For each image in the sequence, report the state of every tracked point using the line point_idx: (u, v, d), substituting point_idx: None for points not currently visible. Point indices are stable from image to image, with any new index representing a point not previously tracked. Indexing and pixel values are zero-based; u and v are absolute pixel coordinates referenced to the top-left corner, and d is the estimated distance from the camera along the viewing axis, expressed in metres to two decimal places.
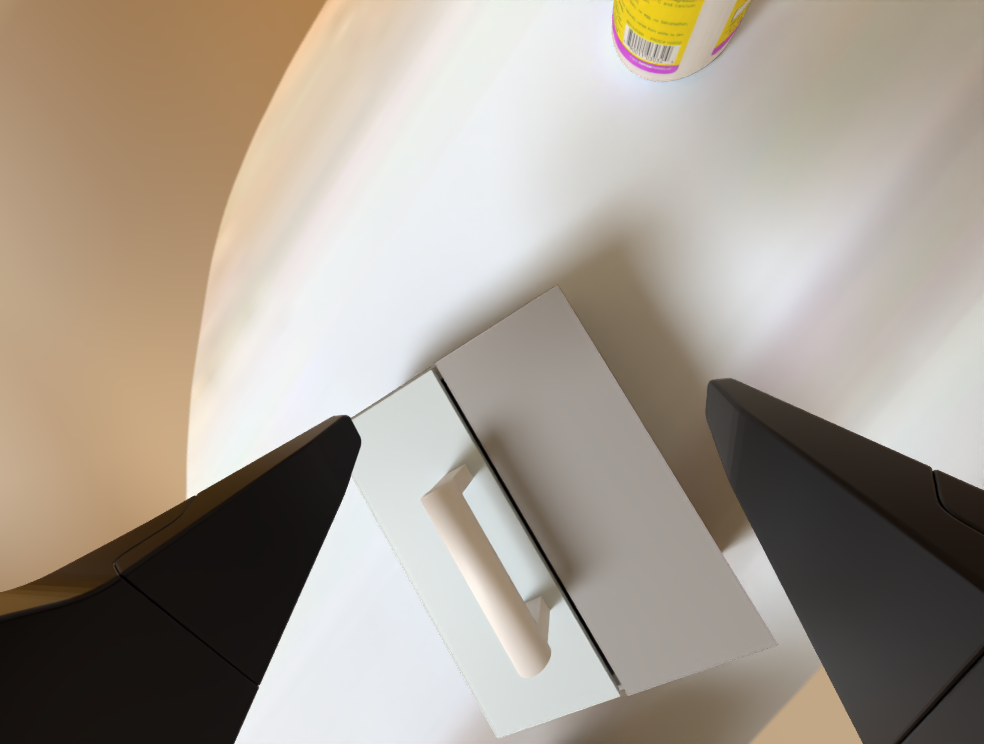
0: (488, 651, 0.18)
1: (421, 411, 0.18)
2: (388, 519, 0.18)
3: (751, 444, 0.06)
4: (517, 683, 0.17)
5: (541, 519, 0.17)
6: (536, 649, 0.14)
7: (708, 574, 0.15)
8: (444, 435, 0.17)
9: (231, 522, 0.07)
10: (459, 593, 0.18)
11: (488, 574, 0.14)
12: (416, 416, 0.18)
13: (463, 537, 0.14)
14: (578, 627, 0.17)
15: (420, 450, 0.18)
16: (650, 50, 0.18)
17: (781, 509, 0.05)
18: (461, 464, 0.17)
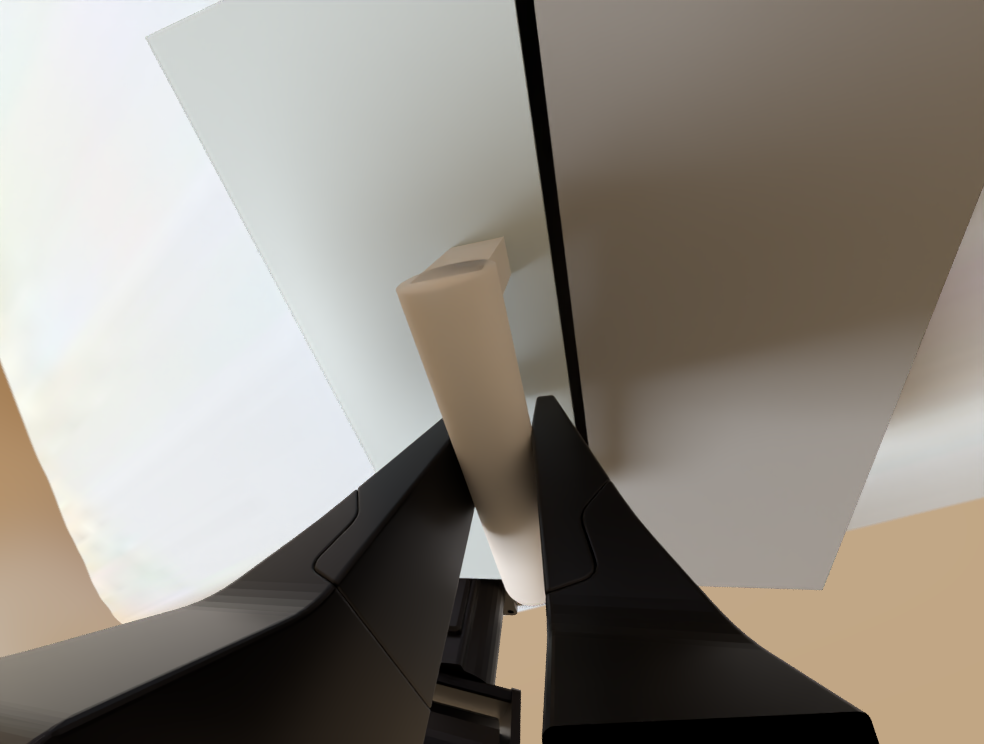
0: None
1: (428, 45, 0.06)
2: (309, 303, 0.09)
3: None
4: (474, 545, 0.13)
5: (609, 384, 0.09)
6: None
7: (813, 515, 0.10)
8: (473, 146, 0.07)
9: (404, 520, 0.06)
10: None
11: (516, 479, 0.07)
12: (409, 56, 0.06)
13: (490, 408, 0.06)
14: None
15: (403, 169, 0.07)
16: None
17: None
18: (494, 235, 0.08)
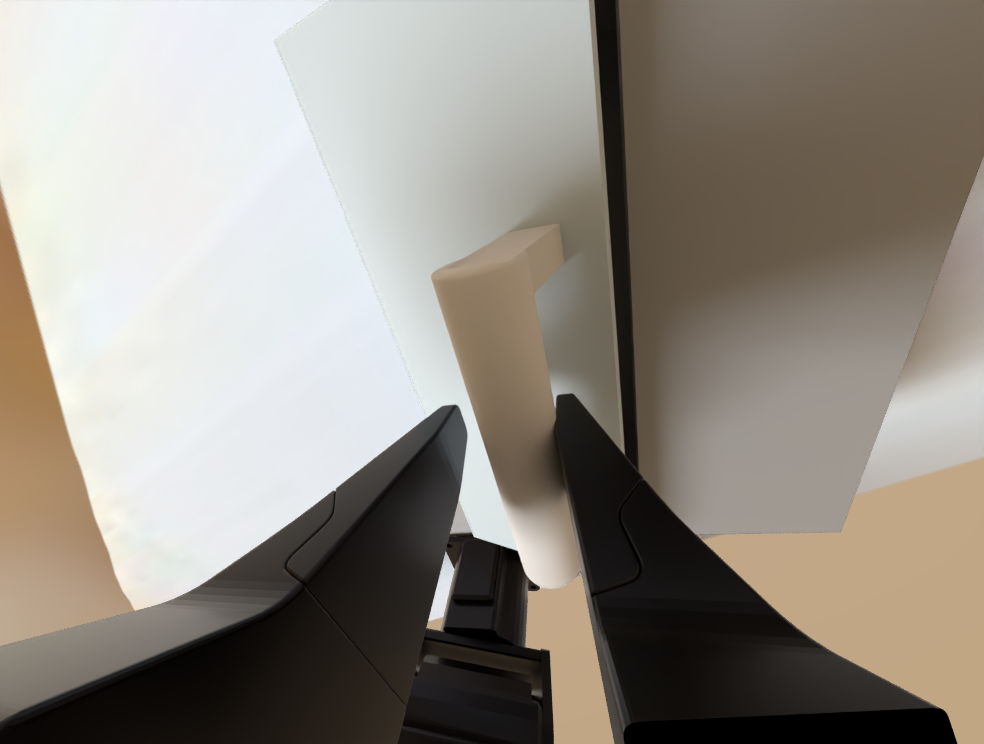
0: (491, 482, 0.13)
1: (496, 26, 0.06)
2: (386, 275, 0.10)
3: (559, 454, 0.07)
4: None
5: (658, 340, 0.10)
6: (563, 567, 0.09)
7: (834, 459, 0.12)
8: (535, 129, 0.07)
9: (380, 521, 0.06)
10: (473, 416, 0.12)
11: (531, 466, 0.07)
12: (479, 39, 0.06)
13: (505, 395, 0.06)
14: None
15: (468, 153, 0.07)
16: None
17: (570, 512, 0.06)
18: (550, 222, 0.07)
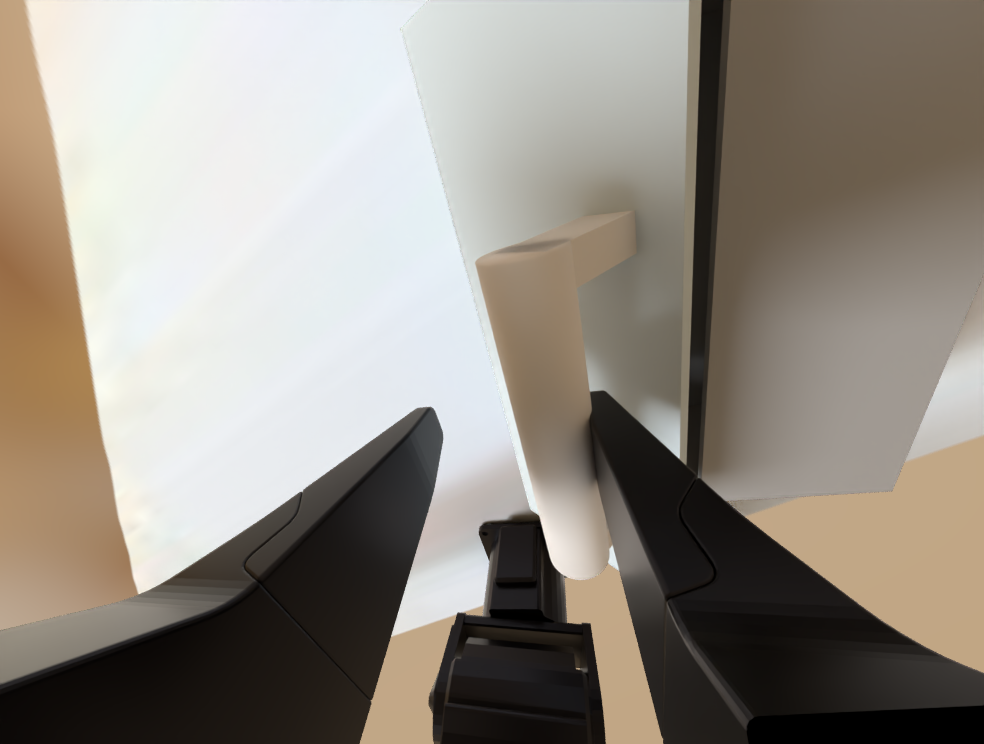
0: None
1: None
2: (473, 250, 0.11)
3: (597, 452, 0.07)
4: None
5: (736, 305, 0.11)
6: (582, 561, 0.09)
7: (892, 417, 0.12)
8: (617, 105, 0.06)
9: (345, 521, 0.06)
10: None
11: (553, 456, 0.07)
12: (570, 9, 0.06)
13: (530, 382, 0.06)
14: None
15: (550, 132, 0.07)
16: None
17: (611, 511, 0.06)
18: (625, 208, 0.07)
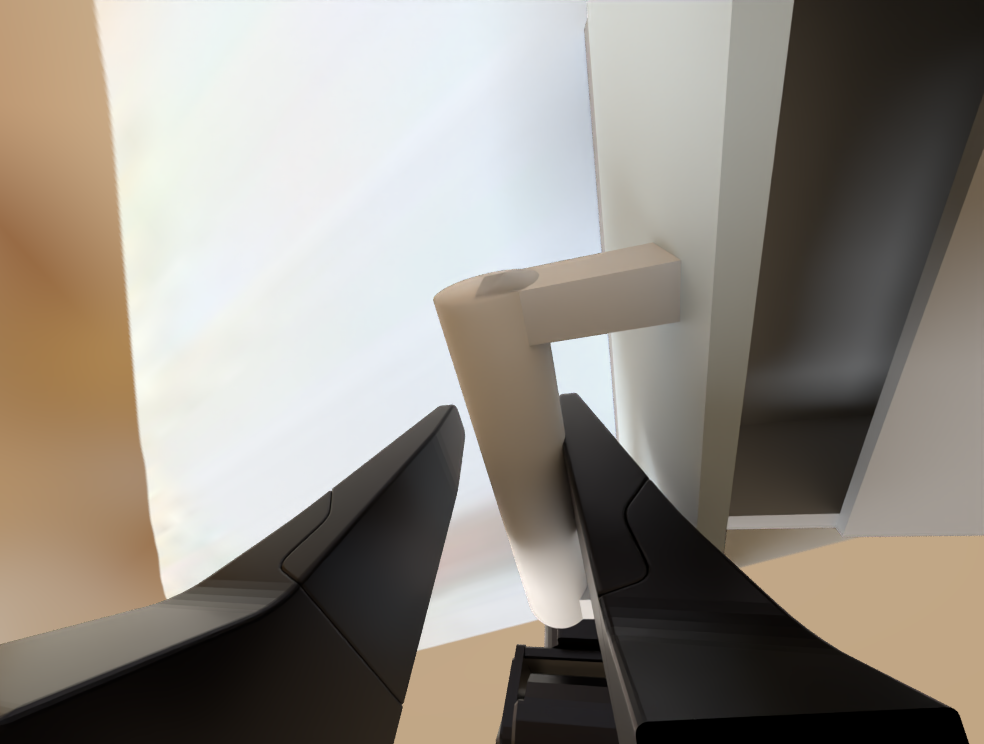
0: None
1: None
2: (608, 238, 0.09)
3: None
4: None
5: (958, 307, 0.09)
6: (533, 601, 0.08)
7: None
8: (676, 89, 0.04)
9: (376, 520, 0.06)
10: (629, 426, 0.10)
11: (497, 493, 0.07)
12: None
13: None
14: None
15: (639, 114, 0.05)
16: None
17: (574, 512, 0.06)
18: (676, 252, 0.04)
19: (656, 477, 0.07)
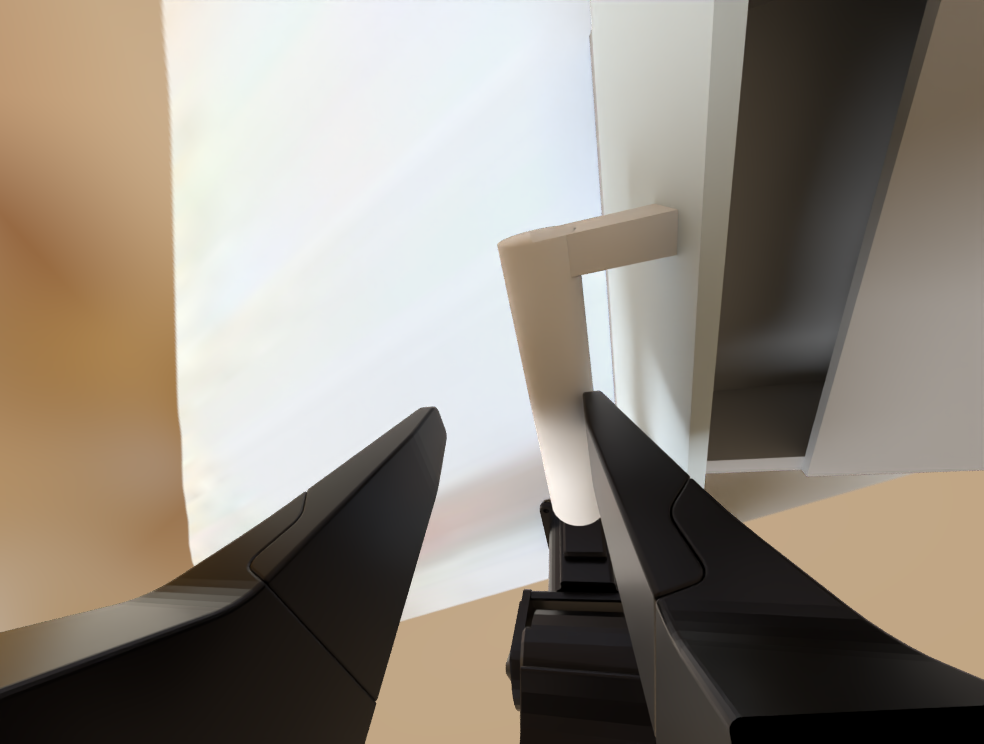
0: None
1: None
2: (608, 213, 0.11)
3: (591, 453, 0.07)
4: None
5: (890, 270, 0.11)
6: (560, 505, 0.10)
7: None
8: (675, 93, 0.06)
9: (349, 521, 0.06)
10: (628, 370, 0.12)
11: (537, 406, 0.09)
12: None
13: (519, 341, 0.08)
14: None
15: (644, 111, 0.07)
16: None
17: (605, 511, 0.06)
18: (674, 204, 0.06)
19: (655, 395, 0.10)
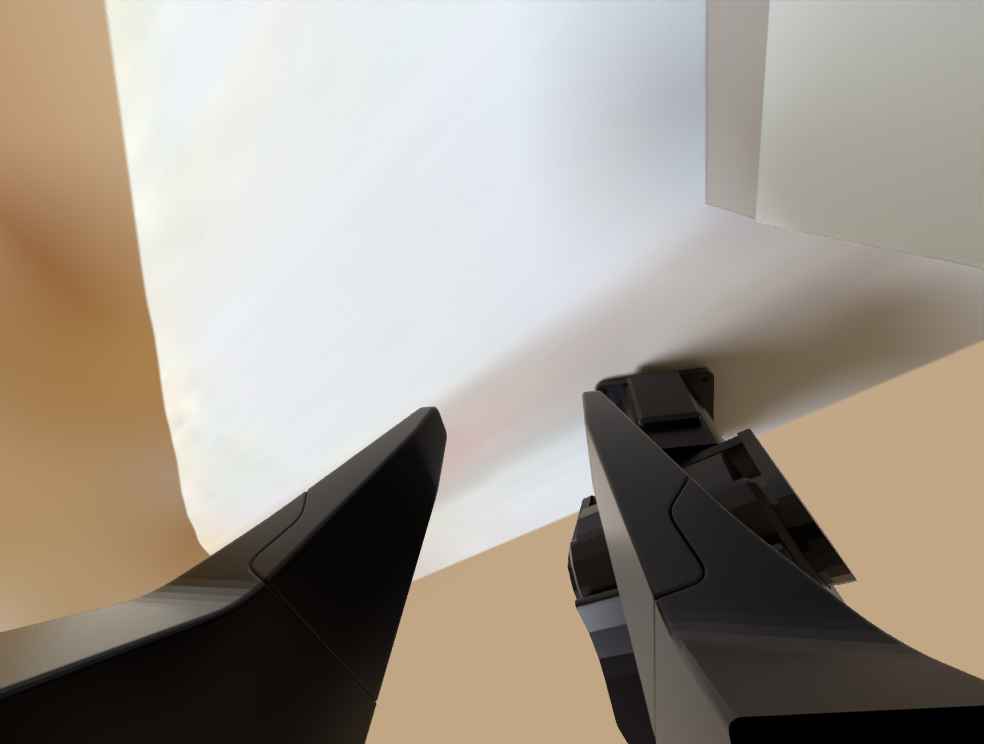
0: (824, 34, 0.08)
1: None
2: None
3: (591, 452, 0.07)
4: (827, 136, 0.08)
5: None
6: None
7: None
8: None
9: (349, 521, 0.06)
10: None
11: None
12: None
13: None
14: None
15: None
16: None
17: (605, 511, 0.06)
18: None
19: None
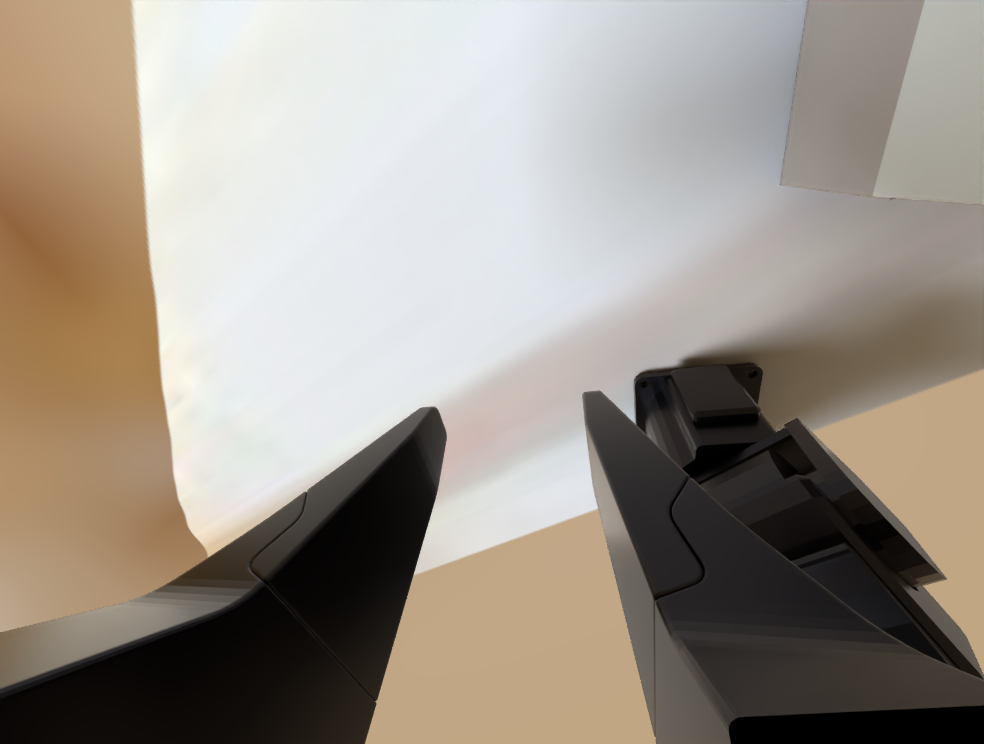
0: None
1: None
2: None
3: (591, 453, 0.07)
4: None
5: None
6: None
7: None
8: None
9: (350, 521, 0.06)
10: None
11: None
12: None
13: None
14: None
15: None
16: None
17: (605, 511, 0.06)
18: None
19: None
